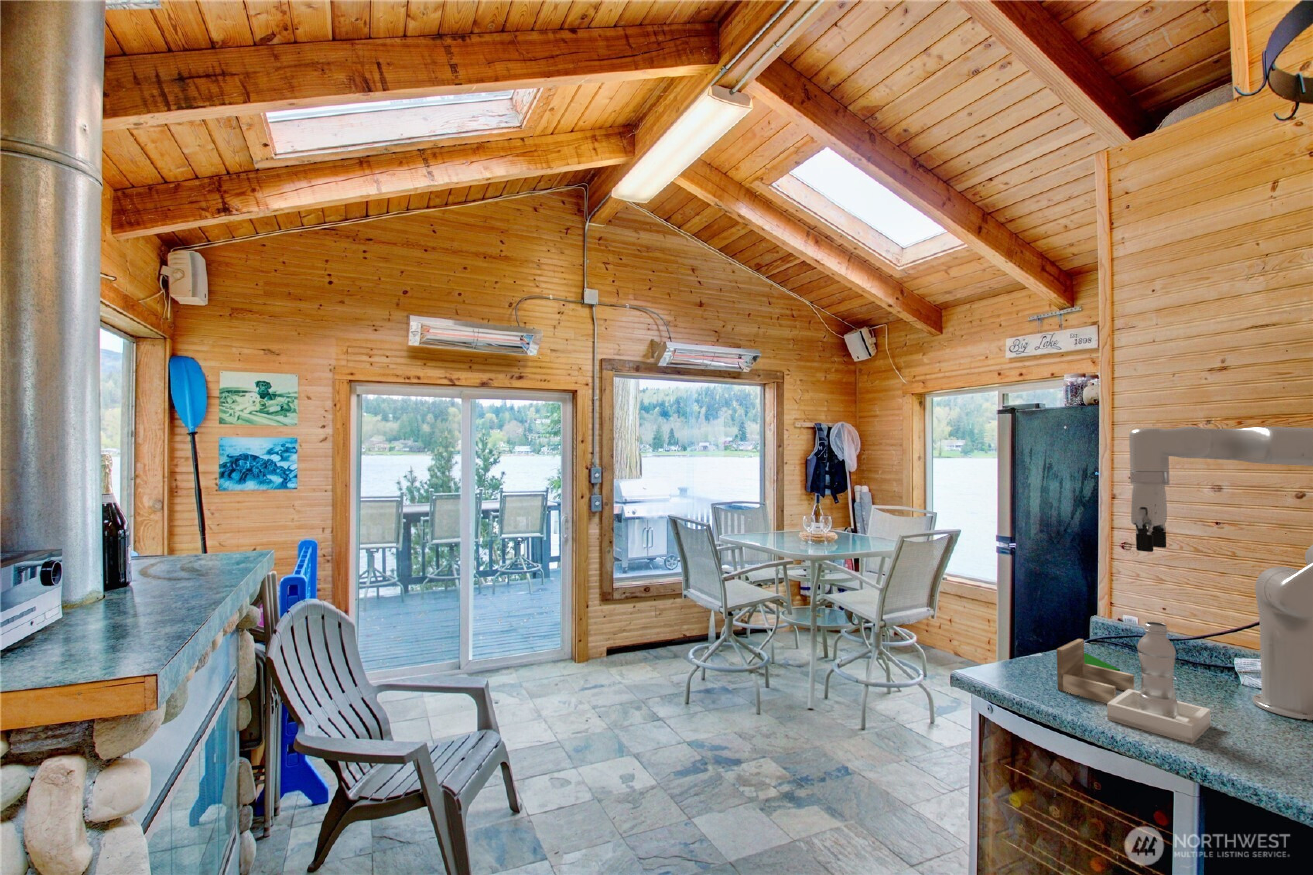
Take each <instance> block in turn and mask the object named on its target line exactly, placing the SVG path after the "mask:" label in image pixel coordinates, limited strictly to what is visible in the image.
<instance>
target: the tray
mask: <svg viewBox="0 0 1313 875" xmlns="http://www.w3.org/2000/svg"><path fill="white" fill-rule="evenodd" d="M1140 692H1141V691H1139V690H1135V689H1134V690H1131V689H1128V690H1126V691H1124V692H1122V693H1120V694H1119V695H1116V698H1114V699H1113V700H1111V701H1110V702H1108V703H1106V708H1107V710H1106V713H1107V714H1106V716H1107V719H1106V720H1108V721H1112V722H1115V723H1118V724H1123V725H1125V726H1127V727H1128V726H1129V727H1133V728H1136V729H1139V730H1143V731H1146V732H1150V733H1153V734H1157V735H1161V736H1163V737H1167V738H1170V739H1175V740H1176V741H1177V740H1178V741H1182V742H1184V743H1188V744H1192V745H1193V744H1194V743H1195V742H1197V741H1198V739H1199V738H1200V737H1201V736H1202V735H1203V734H1204V733H1205V732H1206V731H1207V730H1209V728H1210V727H1211V725H1212V722H1211V721H1212V720H1211V708H1208V707H1204V706H1200V705H1195V704H1192V703H1187V702H1184V701H1180V700H1177V703H1178V708H1179V710H1178V715H1177V717H1176V718H1175V719H1171V718H1168V717H1164V716H1160V715H1156V714H1153V713H1149V712H1145V711H1142V710H1141V709H1140V705H1139V697H1140Z"/></svg>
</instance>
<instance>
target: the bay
mask: <svg viewBox="0 0 1313 875" xmlns="http://www.w3.org/2000/svg"><path fill="white" fill-rule="evenodd" d="M1084 653H1085V640H1084V639H1083V638H1077V639H1075V640H1073V641H1070V642H1068V643H1066V644H1064V645H1062V646H1059V647H1058V648H1056V668H1057V670H1056V673H1057V674H1056V675H1057V677H1056V678H1057V680H1056V681H1057V691H1059V690H1060V691H1061V692H1063V691H1066V692H1065V693H1067V692H1068V693H1067V694H1070V693H1071V695H1075V696H1078V695H1080V696H1079V697H1082V696H1083V697H1082V698H1085V699H1086V698H1087V699H1090V700H1093V701H1097V702H1100V703H1104V704H1107V703H1108V702H1110V701H1111V700H1113V699H1114V698H1116V697H1117V690H1121V691H1124V692H1125V691H1126V690H1128V689H1131V690H1135V674H1131V673H1128V672H1124V671H1121V670H1120V671H1115V670H1111V669H1107V668H1102V667H1098V666H1094V665H1089V664H1085V663H1084Z"/></svg>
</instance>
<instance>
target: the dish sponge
mask: <svg viewBox="0 0 1313 875" xmlns="http://www.w3.org/2000/svg"><path fill="white" fill-rule="evenodd" d="M1084 663H1085V664H1089V665H1094V666H1098V667H1102V668H1107V669H1111V670H1115V671H1120V672H1121V669H1120V668H1118V667H1116V666H1114V665H1112V664H1110V663H1108V662H1106V661H1103V660H1101V659H1099V658H1097V657H1095V656H1093V655H1091V654H1090V653H1087V652H1084Z"/></svg>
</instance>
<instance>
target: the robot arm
mask: <svg viewBox="0 0 1313 875" xmlns="http://www.w3.org/2000/svg"><path fill="white" fill-rule="evenodd" d="M1128 439H1129V440H1128V441H1129V446H1128V447H1129V470H1130V471H1129V475H1130V476H1129V477H1130V480H1129V481H1130V482H1129V484H1130V485H1132V489H1131V490H1132V492H1131V504H1130V505H1131V508H1130V510H1131V511H1130V523H1131V524H1132V525H1133V526H1135V545H1136V546H1135V549H1136V551H1139V552H1148V553H1152V552H1154V548H1160V549H1161V548H1162V549H1166V548H1167V532H1166V530H1167V527H1166V523H1167V521H1168V509H1167V508H1168V506H1167V492H1166V491H1167V490H1166V486H1170V485H1171V484H1170V459H1169V458H1170V457H1176V458H1179V459H1180V458H1182V459H1205V460H1223V461H1237V462H1245V463H1252V464H1260V465H1261V464H1262V465H1263V464H1264V465H1281V466H1282V465H1285V466H1286V465H1288V466H1305V467H1306V466H1308V467H1313V427H1288V426H1286V427H1284V426H1256V427H1254V426H1253V427H1246V428H1201V427H1198V426H1180V427H1176V428H1166V429H1165V428H1157V427H1156V428H1152V427H1151V428H1135V429H1132V430H1131V431H1130V432H1129V437H1128ZM1304 560H1305V563H1306V566H1305V567H1303V568H1301V569H1300V570H1299V569H1296V568H1292V567H1287V566H1274V567H1270V568H1267V569H1266V570H1264V571H1262V572H1261V573H1260V574H1259V575H1258V577H1257V578H1256V581H1255V585H1254V591H1255V598H1256V599H1255V600H1256V604H1257V605H1256V606H1257V612H1258V617H1259V618H1258V620H1259V621H1258V622H1259V644H1260V645H1259V647H1260V648H1259V649H1260V652H1259V653H1260V676H1261V678H1260V679H1261V683H1260V684H1261V693H1258V694H1255V695H1253V696H1252V702H1253V704H1254V705H1255V706H1256V707H1258V708H1260V709H1262V710H1265V711H1266V712H1267V711H1268V712H1271V713H1272V714H1273V713H1274V714H1276V715H1280V716H1284V717H1287V718H1293V719H1298V720H1303V719H1307V720H1306V721H1312V720H1313V544H1311V545H1310V546H1309V547H1308V548H1307V550H1306V551H1305V554H1304Z"/></svg>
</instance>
